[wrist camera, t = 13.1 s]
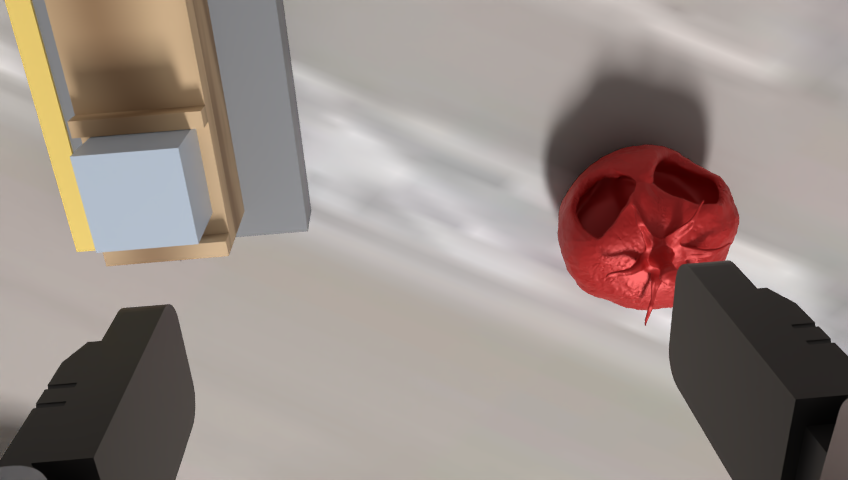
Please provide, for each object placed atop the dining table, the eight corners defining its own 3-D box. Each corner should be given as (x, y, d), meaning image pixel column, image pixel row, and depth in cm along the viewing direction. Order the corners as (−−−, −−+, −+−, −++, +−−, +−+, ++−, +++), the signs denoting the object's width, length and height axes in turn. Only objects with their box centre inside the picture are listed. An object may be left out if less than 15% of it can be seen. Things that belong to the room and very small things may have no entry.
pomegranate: (706, 255, 50) (776, 334, 42) (556, 288, 51) (597, 374, 42) (700, 112, 46) (777, 169, 38) (535, 149, 46) (576, 215, 38)
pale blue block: (195, 123, 36) (178, 147, 33) (212, 212, 38) (198, 243, 35) (96, 131, 36) (69, 156, 33) (119, 220, 38) (96, 252, 35)
